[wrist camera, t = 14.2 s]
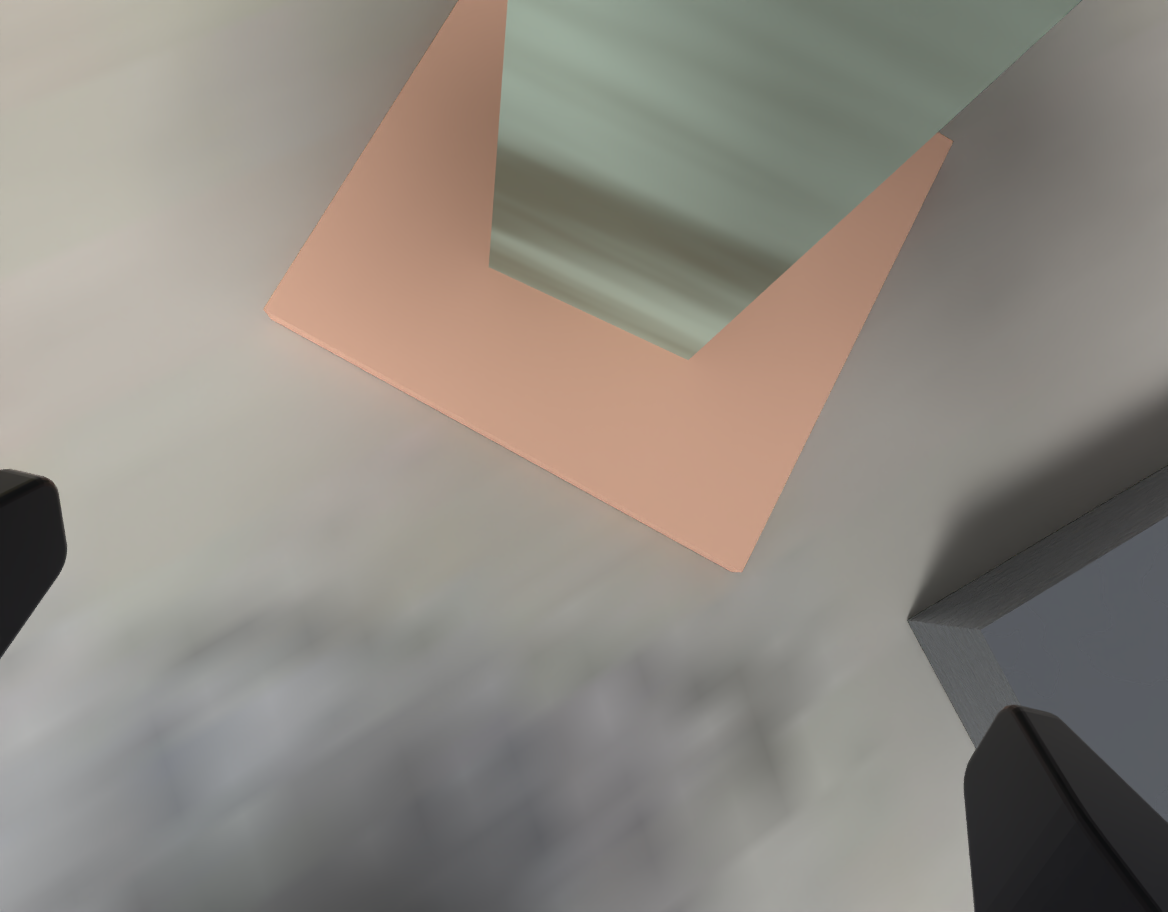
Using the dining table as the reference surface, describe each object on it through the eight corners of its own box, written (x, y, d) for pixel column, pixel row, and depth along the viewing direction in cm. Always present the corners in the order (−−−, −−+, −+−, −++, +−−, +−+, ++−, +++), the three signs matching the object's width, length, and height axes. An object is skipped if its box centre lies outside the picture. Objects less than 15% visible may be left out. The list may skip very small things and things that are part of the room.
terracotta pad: (731, 572, 20) (742, 572, 19) (271, 318, 20) (263, 309, 19) (936, 156, 22) (952, 141, 21) (526, -87, 22) (528, -111, 21)
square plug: (688, 360, 20) (1088, -5, 7) (488, 266, 20) (528, -295, 7) (767, 175, 21) (1253, -453, 8) (577, 81, 20) (763, -734, 8)
